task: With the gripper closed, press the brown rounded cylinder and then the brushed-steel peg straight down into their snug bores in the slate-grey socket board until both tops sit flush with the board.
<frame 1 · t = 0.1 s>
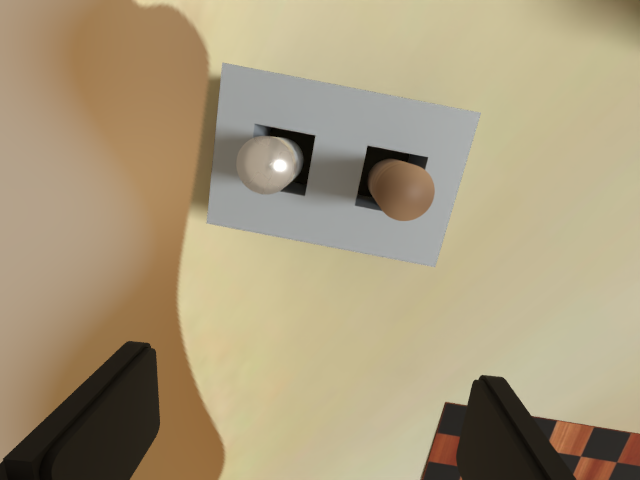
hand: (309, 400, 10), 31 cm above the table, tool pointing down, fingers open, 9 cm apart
socket board: (335, 165, 39), on the table
steel peg: (274, 162, 28), point 11 cm above the table, slide at 7.0 cm
brown rounded cylinder: (396, 186, 28), point 11 cm above the table, slide at 7.0 cm
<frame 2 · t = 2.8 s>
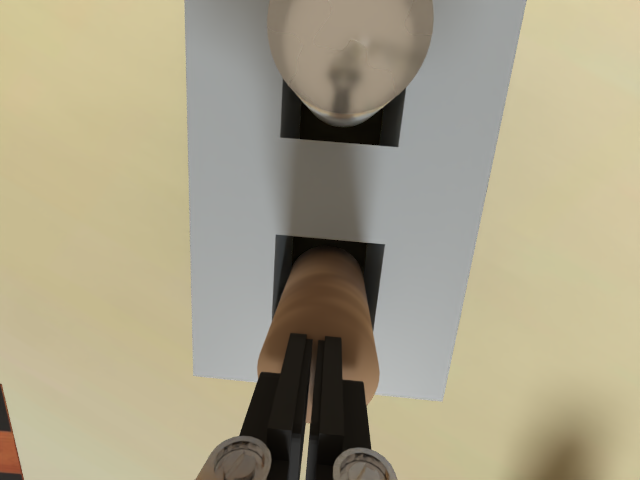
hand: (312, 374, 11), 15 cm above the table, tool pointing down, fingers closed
socket board: (335, 176, 24), on the table
steel peg: (346, 62, 12), point 11 cm above the table, slide at 7.0 cm
brown rounded cylinder: (323, 315, 15), point 11 cm above the table, slide at 6.7 cm, touching gripper
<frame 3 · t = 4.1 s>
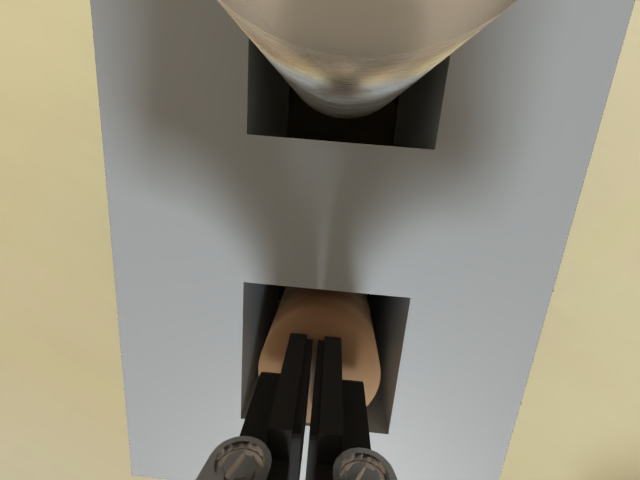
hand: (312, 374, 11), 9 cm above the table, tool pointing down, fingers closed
socket board: (335, 187, 18), on the table
brown rounded cylinder: (324, 315, 15), point 5 cm above the table, slide at 0.6 cm, touching gripper
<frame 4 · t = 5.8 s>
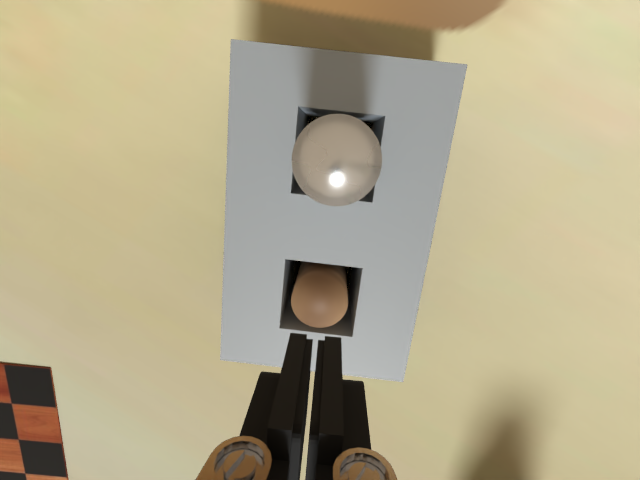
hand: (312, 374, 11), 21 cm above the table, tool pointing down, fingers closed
socket board: (329, 209, 31), on the table
steel peg: (336, 157, 19), point 11 cm above the table, slide at 7.0 cm
brown rounded cylinder: (321, 280, 28), point 4 cm above the table, slide at 0.5 cm
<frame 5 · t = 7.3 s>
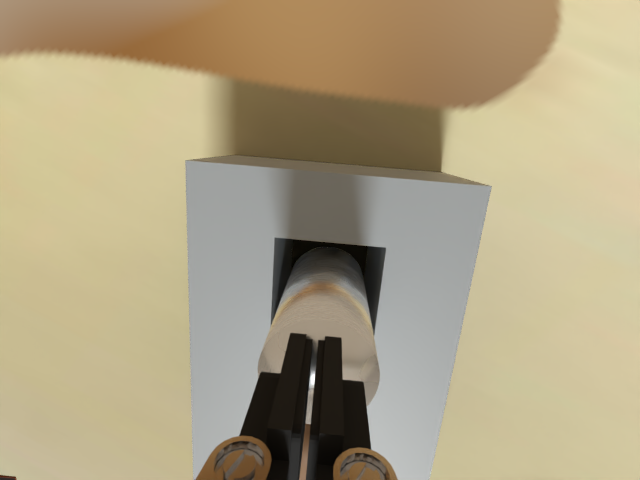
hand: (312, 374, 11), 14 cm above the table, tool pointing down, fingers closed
socket board: (324, 310, 27), on the table
steel peg: (323, 316, 15), point 10 cm above the table, slide at 6.4 cm, touching gripper
brown rounded cylinder: (315, 407, 24), point 4 cm above the table, slide at 0.5 cm
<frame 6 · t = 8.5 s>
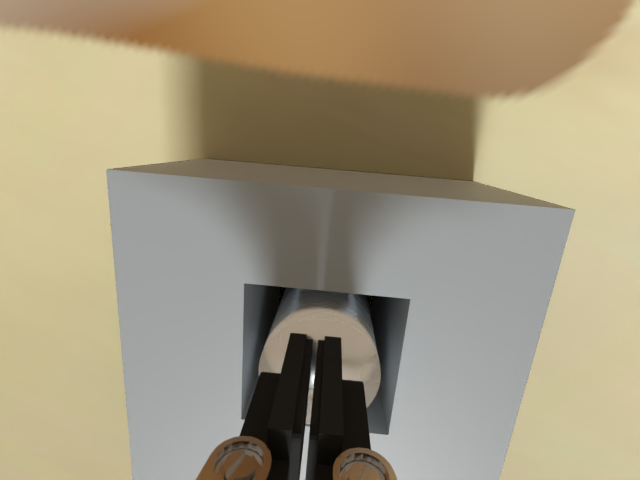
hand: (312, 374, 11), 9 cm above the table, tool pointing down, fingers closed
socket board: (320, 354, 21), on the table
steel peg: (324, 316, 15), point 5 cm above the table, slide at 0.6 cm, touching gripper
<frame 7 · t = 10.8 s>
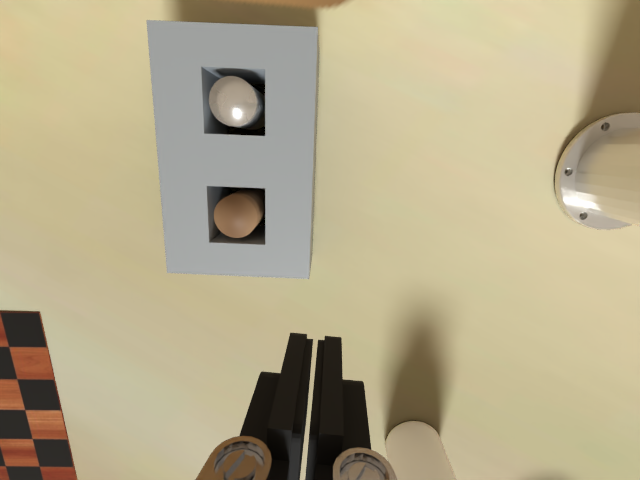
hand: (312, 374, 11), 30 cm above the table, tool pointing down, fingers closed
socket board: (253, 158, 39), on the table
milk bottle: (411, 440, 49), on the table
steel peg: (243, 106, 33), point 4 cm above the table, slide at 0.5 cm
brown rounded cylinder: (245, 209, 36), point 4 cm above the table, slide at 0.5 cm
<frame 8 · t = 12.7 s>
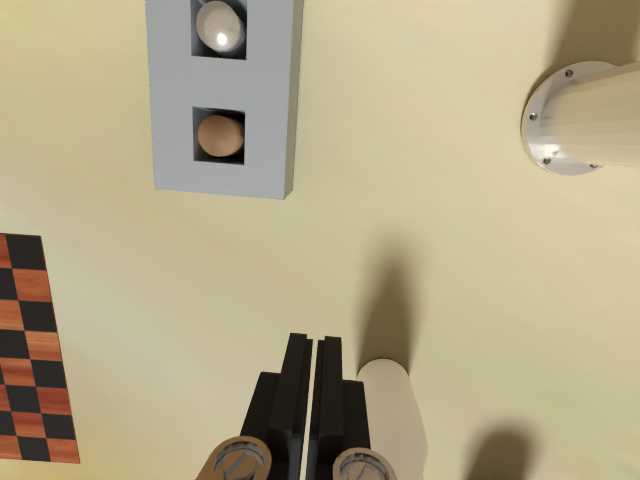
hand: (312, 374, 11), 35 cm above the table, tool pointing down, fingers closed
socket board: (240, 94, 42), on the table
milk bottle: (381, 378, 52), on the table
steel peg: (229, 37, 36), point 4 cm above the table, slide at 0.5 cm
brown rounded cylinder: (228, 136, 39), point 4 cm above the table, slide at 0.5 cm
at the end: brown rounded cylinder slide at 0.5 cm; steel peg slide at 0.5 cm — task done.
